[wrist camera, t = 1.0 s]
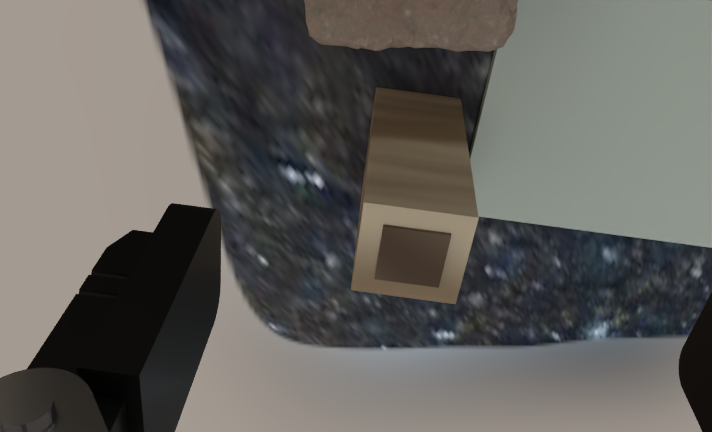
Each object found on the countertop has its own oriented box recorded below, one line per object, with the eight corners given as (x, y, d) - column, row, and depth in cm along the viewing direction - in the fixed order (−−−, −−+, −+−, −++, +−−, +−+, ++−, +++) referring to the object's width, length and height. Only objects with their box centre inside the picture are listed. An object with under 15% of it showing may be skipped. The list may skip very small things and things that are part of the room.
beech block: (376, 86, 31) (363, 204, 23) (460, 98, 31) (479, 220, 23) (365, 160, 33) (350, 292, 25) (444, 171, 33) (455, 306, 25)
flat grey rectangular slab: (513, -31, 28) (515, -27, 27) (936, 28, 28) (946, 32, 27) (456, 206, 34) (457, 213, 34) (797, 252, 35) (803, 259, 34)
